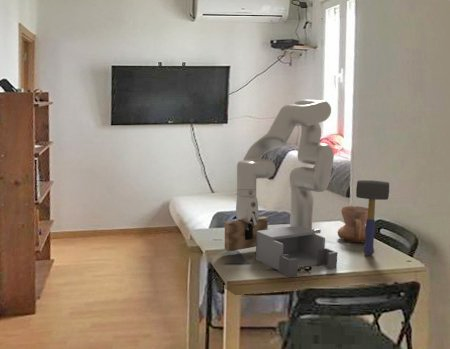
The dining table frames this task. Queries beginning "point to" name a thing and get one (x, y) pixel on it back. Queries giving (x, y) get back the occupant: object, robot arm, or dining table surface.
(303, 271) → the dining table surface
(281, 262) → the cabinet
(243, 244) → the tan wooden plank
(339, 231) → the ceramic jug
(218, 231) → the dining table surface
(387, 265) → the dining table surface
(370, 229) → the rubber mallet
